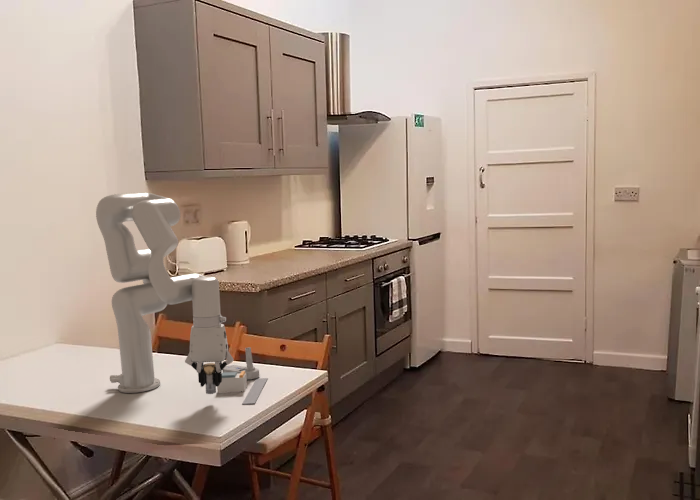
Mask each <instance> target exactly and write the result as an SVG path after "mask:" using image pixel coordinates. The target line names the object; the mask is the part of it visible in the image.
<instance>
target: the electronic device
mask: <svg viewBox="0 0 700 500" xmlns="http://www.w3.org/2000/svg"><path fill="white" fill-rule="evenodd" d="M244 349H245V350H244V351H245V364H246V366H243V365H237V364H236V365H235V364H231V365H230V364H229V365H227V366H225V367H224V368H223V370H222V373H226V372H237V374H240V373H241V372H242V371H245V373H246V378H247V380H256V379H258V378H259V377H260V375H261V374H260V370H259V368H256V366H254V363H253V362H254V361H253V356H252V347H250V346H249V347H245V348H244Z"/></svg>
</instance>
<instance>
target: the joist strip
mask: <svg viewBox="0 0 700 500" xmlns="http://www.w3.org/2000/svg"><path fill="white" fill-rule="evenodd" d="M267 381H268V377H264V378H263V377H262V378H259V377H258V378H256V379H254V382H253V384H252V386H251V388H250V389H249V391H248V393H247V395H246V396H245V397H244V400H243V402H242V403H241V405H242V406H243V405H246V406H247V405H256V403H257V400H258V399H259V397H260V395H261V393H262V391H263V389H264V387H265V385H266V383H267Z"/></svg>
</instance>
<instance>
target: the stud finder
mask: <svg viewBox="0 0 700 500" xmlns="http://www.w3.org/2000/svg"><path fill="white" fill-rule="evenodd" d="M247 382H248V381H247V378H246V373H245V371H242V372H241V373H240V374H237V372H226V373H223V372H222V382H221V383H220V384H219V386H216V391H217V393H218V394H219V393H220V394H221V393H222V394H223V393H241V391H242V393H243V391H246V390H247V387H248V383H247Z"/></svg>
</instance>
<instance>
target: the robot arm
mask: <svg viewBox="0 0 700 500" xmlns="http://www.w3.org/2000/svg"><path fill="white" fill-rule="evenodd" d="M95 217H96V222H97V226H98V228H99V231H100V233H101V235H102V238H103V241H104V245H105V250H106V255H107V256H106V257H107V260H108V265H109V269H110V274H111V277H112V279H113V280H114V281H115V282H116V283H120V284H125V283H132V282H136V281H137V282H138V281H142V282H143V284H141V283H140V284H136V285H135V284H134V285H131V286H130V285H129V286H125V287H122V288H121V289H118V290H116V292H115V293H113V295H112V297H111V308H112V310H113V315H114V318H115V321H116V327H117V336H118V345H119V346H118V347H119V355H120V356H119V357H120V366H121V373H120V374H118V375H117V374H111V375H109V381H110V383H112V384H113V383H114V384H115V383H116V384H117V383H118V386H117V390H118V391H119V392H121V393H125V394H136V393H137V394H138V393H142V392H148V391H152V390H154V389H156V388H158V387H159V386H160V385H161V380H160V379H159V378H157V377H155V367H154V359H153V345H152V333H151V329H150V326H149V324H148V323H147V321H145V319H144V317H143V316H146V315H150V314H155V313H159V312H161V311H163V310H164V309H165V308H166V307H167V306H168V305H177V304H181V303H186V302H190V301H192V316H193V317H192V320H193V324H192V326H191V328H190V335H189V336H190V337H189V353H188V354H187V356H186V358H185V360H184V363H185V364H187V365H189V366H191V367H192V368H193V369H194V370H195V371H196V373H197V376H198V383H199V384H200V387H201V388H203V387H204V386H206V385H205V373H203V365H204V364H205V363H215V366H216V372H215V386H216V387H217V386H219V384H220V383H221V382H222V373H223V368H224V367H226V366H229V365H230V364H232V363H233V361H234V358H233V355H232V354H231V353H230V351H229V343H228V338H227V337H228V336H227V332H226V327H225V324H223V323H225V322H226V321H227V317H226V316H223V315H222V314H221V297H220V295H221V294H220V282H219V281H220V280H218V278H216V277H215V276H205V275H203V274H200V273H192V272H191V273H188V274H187V273H186V274H182V275H176V276H170V274H169V273H168V271H167V269H166V266H165V263H164V258H165V257H167V256H168V255H170V254H171V253H172V252H173V251H175V250H176V249H177V247H178V246H179V239H178V236H177V235H176V233H175V232H174V230H173V229H172V227H173V226H176V225H177V224H178V223H179V222H180V220H181V210H180V208H179V205H178V204H177V203H176V201H175V200H173V199H172V198H169V197H165V196H163V195H158V194H155V193H151V192H133V193H132V192H131V193H130V192H129V193H127V192H126V193H116V194H115V193H114V194H109V195H106V196H104V197H103V198H101V199H100V200H99V201H98V203H97V206H96V209H95ZM124 222H134V224H135V226H136V227H137V229H138V232H139V233H140V235H141V237H142V238H143V239H142V240H144V242H145V244H146V246H147V248H141V249H137V248H136V244H135V240H134V236H133V235H134V234H132V232H131V231H130V229H129V228H128V227H127V226H126V225H125V224H124Z"/></svg>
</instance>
